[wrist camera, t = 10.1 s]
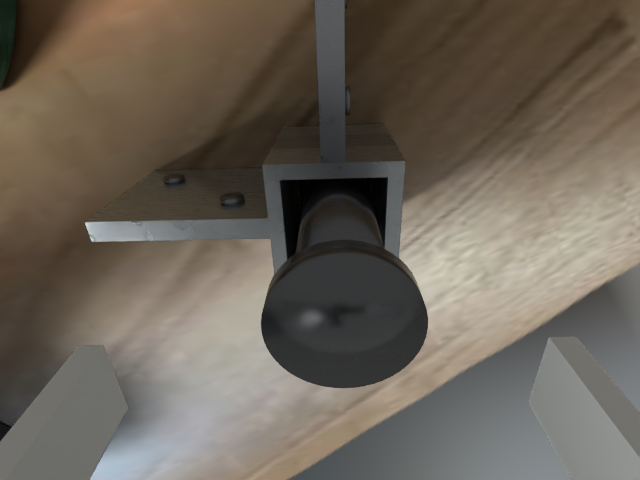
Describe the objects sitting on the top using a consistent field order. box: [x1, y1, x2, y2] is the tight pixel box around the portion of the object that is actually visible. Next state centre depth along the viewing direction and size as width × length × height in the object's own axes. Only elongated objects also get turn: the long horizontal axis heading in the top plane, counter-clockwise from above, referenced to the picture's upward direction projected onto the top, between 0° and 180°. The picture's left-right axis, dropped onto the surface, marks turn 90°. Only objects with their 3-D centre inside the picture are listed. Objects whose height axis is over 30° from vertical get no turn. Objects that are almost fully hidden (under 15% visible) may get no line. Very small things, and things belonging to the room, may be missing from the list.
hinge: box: [85, 0, 405, 275], centre depth 22 cm, size 17×17×9 cm
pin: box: [261, 178, 428, 388], centre depth 20 cm, size 6×6×17 cm
